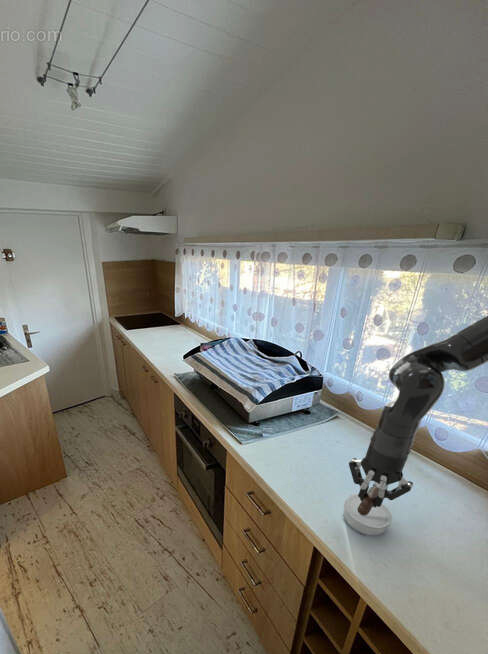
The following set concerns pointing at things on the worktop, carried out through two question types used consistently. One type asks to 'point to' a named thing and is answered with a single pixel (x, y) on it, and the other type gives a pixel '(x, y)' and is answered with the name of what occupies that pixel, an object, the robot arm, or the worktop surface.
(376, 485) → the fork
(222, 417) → the worktop surface
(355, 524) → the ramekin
